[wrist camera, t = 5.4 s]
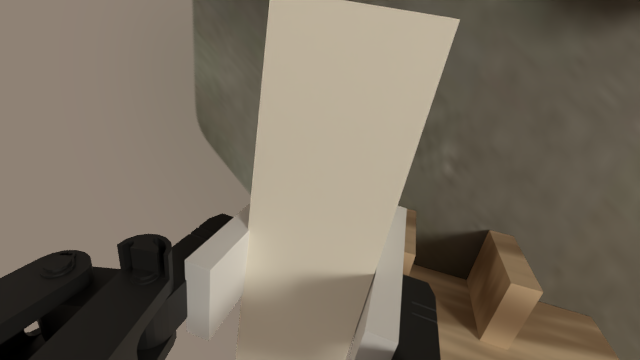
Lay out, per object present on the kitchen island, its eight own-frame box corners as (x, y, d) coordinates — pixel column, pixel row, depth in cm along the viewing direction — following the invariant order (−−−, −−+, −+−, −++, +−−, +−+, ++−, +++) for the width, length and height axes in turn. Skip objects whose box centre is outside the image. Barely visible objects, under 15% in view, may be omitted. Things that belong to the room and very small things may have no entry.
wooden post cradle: (387, 203, 28) (357, 349, 14) (629, 266, 24) (927, 562, 10) (368, 274, 32) (330, 443, 18) (574, 338, 28) (734, 627, 14)
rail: (328, 19, 11) (266, -14, 6) (441, 39, 10) (463, 19, 6) (277, 320, 17) (228, 410, 13) (342, 347, 17) (315, 453, 12)
